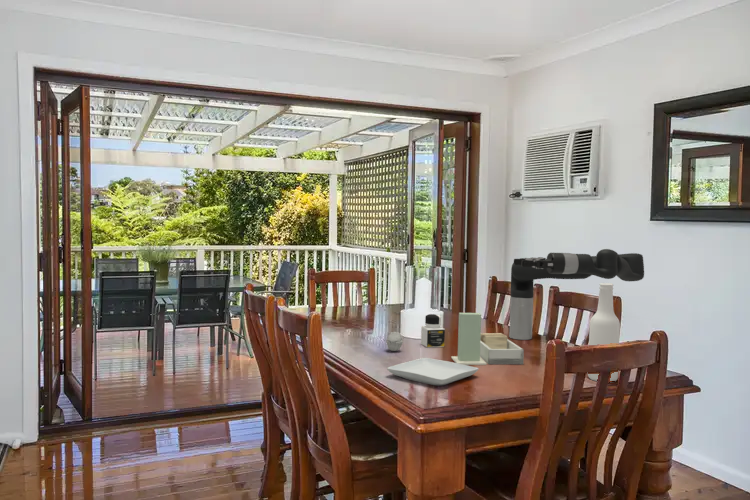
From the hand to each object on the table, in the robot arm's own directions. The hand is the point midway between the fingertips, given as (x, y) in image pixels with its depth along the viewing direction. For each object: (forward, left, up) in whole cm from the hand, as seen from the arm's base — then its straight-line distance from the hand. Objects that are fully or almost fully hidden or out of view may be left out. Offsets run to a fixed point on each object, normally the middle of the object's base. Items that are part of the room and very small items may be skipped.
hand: (517, 262), depth 215 cm
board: (+6, -18, -33) cm, 38 cm away
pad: (+6, -18, -34) cm, 39 cm away
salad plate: (+26, -34, -35) cm, 55 cm away
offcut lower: (-6, -6, -32) cm, 33 cm away
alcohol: (+29, +19, -34) cm, 49 cm away
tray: (0, -6, -34) cm, 35 cm away
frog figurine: (-10, -42, -34) cm, 55 cm away
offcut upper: (-6, -6, -29) cm, 31 cm away
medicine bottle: (-20, -26, -34) cm, 47 cm away
